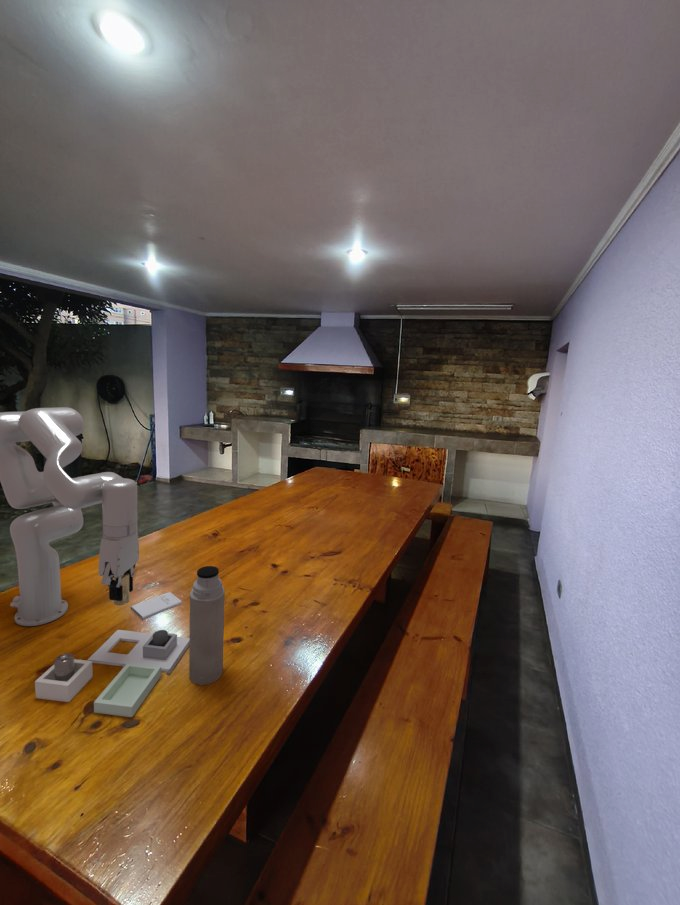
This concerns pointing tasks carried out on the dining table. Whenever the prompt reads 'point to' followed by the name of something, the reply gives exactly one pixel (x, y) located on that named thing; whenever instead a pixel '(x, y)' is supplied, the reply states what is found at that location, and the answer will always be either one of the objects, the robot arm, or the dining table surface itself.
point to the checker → (142, 650)
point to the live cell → (124, 589)
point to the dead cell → (64, 667)
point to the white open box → (63, 682)
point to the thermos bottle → (206, 627)
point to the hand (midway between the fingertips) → (121, 594)
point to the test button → (160, 638)
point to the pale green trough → (127, 690)
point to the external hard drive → (156, 605)
